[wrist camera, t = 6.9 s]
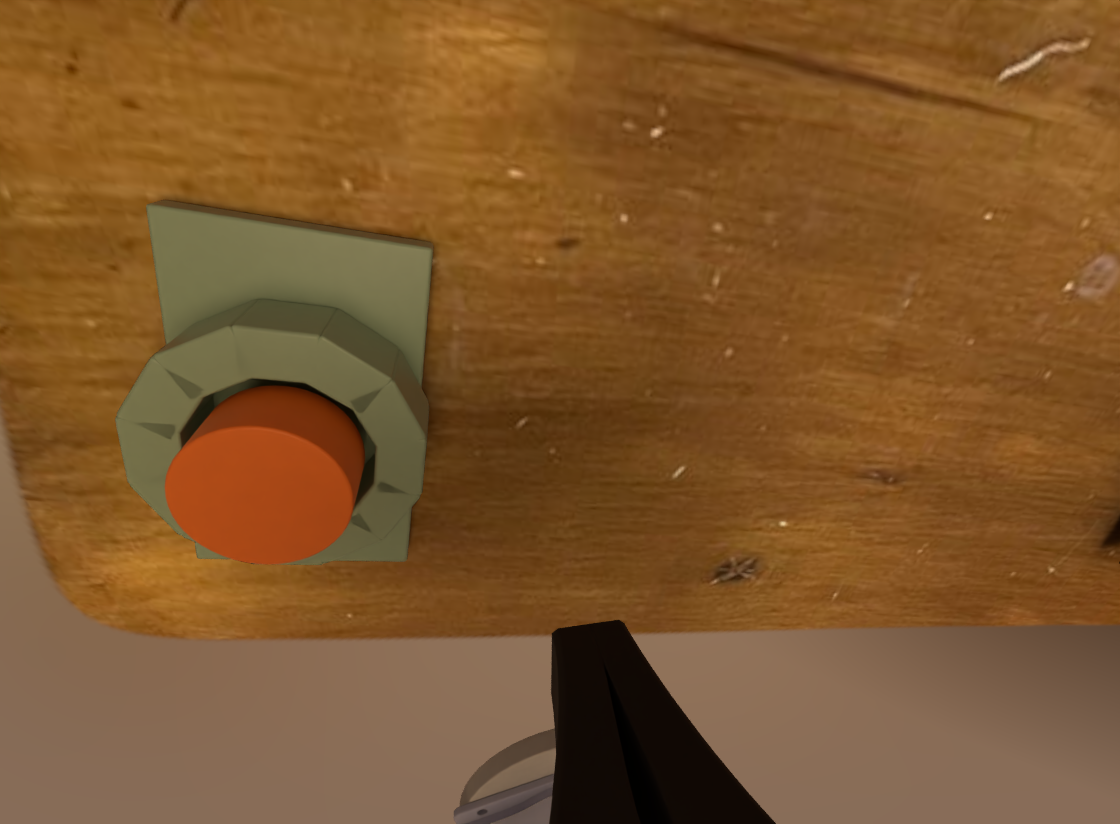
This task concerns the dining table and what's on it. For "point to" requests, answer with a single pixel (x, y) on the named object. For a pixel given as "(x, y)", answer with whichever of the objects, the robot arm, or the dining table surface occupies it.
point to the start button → (268, 476)
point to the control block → (288, 351)
